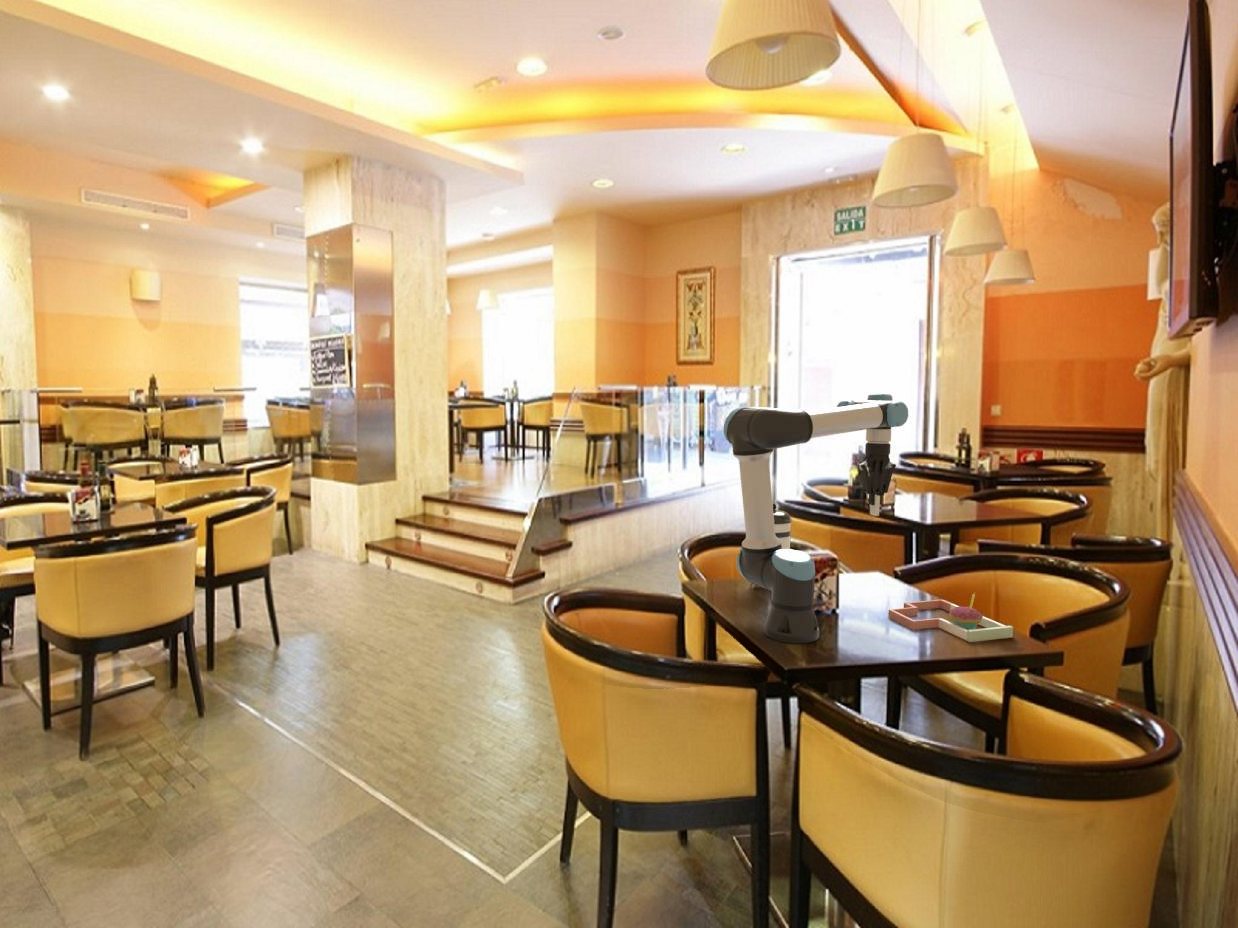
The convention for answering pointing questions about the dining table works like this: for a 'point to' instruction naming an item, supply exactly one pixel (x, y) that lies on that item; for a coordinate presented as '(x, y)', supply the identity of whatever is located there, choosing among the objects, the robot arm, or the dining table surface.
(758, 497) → the robot arm
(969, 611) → the cupcake
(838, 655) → the dining table surface
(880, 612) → the dining table surface
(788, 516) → the coffee press
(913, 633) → the dining table surface
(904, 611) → the track
